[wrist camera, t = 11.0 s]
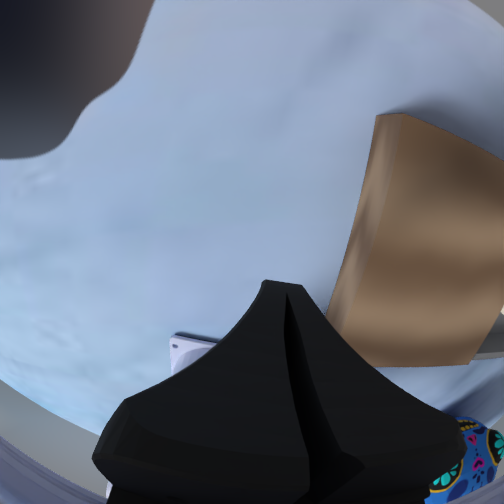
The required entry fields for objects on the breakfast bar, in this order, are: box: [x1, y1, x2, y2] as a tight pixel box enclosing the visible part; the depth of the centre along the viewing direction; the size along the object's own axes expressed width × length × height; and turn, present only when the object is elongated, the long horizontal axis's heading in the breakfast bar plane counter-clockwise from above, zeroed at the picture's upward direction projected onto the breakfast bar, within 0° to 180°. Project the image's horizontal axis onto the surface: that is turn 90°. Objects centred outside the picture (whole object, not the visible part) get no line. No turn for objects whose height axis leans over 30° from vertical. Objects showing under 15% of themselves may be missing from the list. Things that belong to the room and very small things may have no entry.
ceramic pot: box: [424, 417, 504, 504], centre depth 22 cm, size 18×18×15 cm
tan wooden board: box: [325, 113, 504, 367], centre depth 16 cm, size 16×14×4 cm
